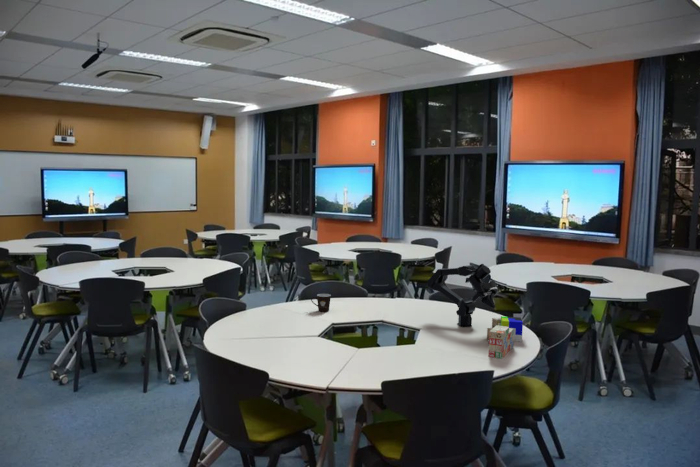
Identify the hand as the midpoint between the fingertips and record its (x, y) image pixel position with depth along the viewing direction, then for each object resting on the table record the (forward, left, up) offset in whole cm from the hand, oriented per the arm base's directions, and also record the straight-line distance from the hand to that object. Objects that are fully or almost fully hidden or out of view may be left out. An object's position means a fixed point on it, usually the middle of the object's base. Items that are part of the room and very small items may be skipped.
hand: (494, 307), depth 283 cm
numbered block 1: (+5, +5, -14) cm, 15 cm away
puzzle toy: (+4, -11, -14) cm, 18 cm away
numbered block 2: (-7, -14, -14) cm, 21 cm away
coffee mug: (-85, +62, -14) cm, 106 cm away
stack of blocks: (-12, -31, -14) cm, 36 cm away
